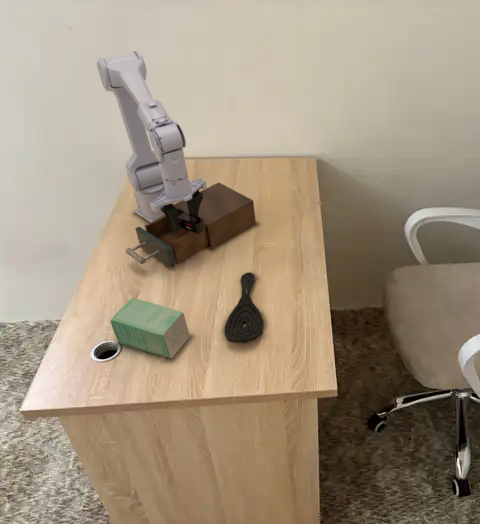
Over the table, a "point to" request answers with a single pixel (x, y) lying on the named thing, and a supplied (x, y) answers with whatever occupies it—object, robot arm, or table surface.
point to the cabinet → (223, 213)
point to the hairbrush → (244, 316)
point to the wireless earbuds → (191, 223)
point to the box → (150, 327)
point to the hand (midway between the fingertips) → (185, 223)
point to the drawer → (167, 242)
